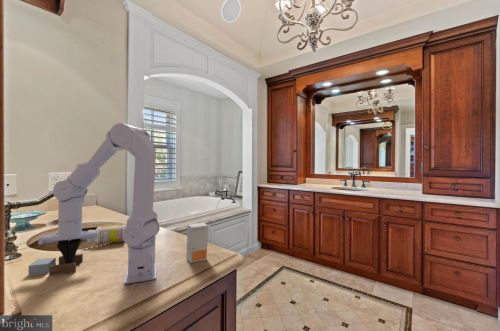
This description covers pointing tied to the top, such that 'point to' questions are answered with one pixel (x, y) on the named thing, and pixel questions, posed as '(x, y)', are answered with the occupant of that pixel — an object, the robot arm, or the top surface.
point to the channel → (65, 266)
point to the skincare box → (197, 242)
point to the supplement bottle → (109, 234)
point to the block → (41, 266)
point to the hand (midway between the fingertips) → (69, 264)
